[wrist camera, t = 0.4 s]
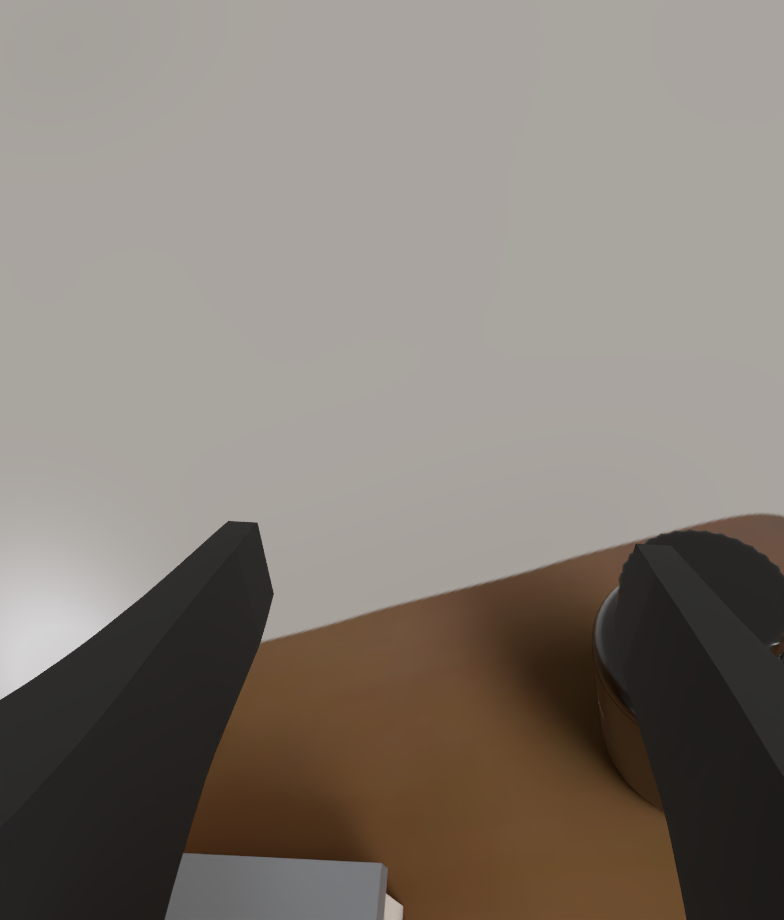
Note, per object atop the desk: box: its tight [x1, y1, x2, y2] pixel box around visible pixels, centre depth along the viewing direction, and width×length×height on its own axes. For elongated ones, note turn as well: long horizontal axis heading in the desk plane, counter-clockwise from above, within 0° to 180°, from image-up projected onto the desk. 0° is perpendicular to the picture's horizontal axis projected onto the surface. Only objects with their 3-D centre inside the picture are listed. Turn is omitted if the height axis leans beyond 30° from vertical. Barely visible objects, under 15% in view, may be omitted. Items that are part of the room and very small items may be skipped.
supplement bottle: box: [592, 530, 784, 810], centre depth 20 cm, size 7×7×12 cm
